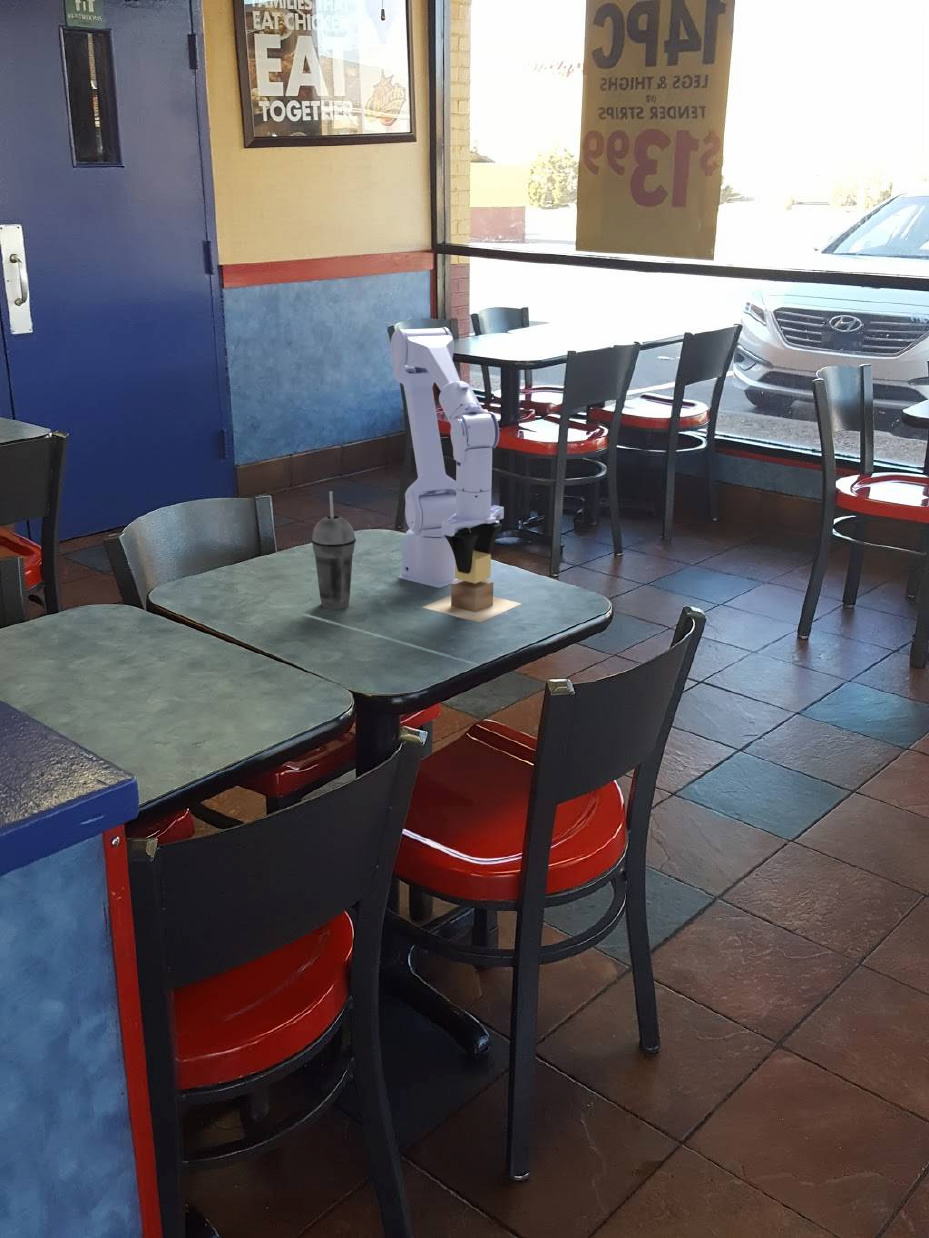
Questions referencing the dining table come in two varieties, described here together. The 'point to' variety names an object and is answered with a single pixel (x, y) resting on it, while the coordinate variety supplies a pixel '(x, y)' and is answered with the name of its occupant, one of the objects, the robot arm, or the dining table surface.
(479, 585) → the walnut block
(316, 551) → the beverage cup
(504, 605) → the build board
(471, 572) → the ochre block
